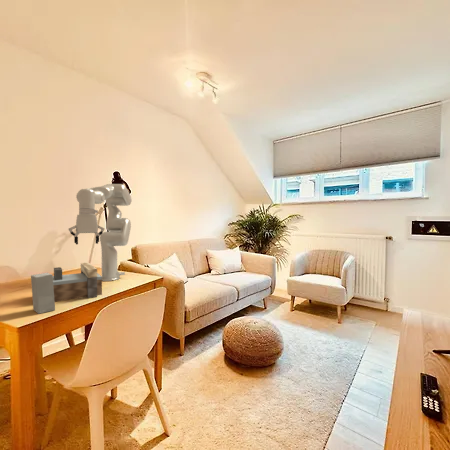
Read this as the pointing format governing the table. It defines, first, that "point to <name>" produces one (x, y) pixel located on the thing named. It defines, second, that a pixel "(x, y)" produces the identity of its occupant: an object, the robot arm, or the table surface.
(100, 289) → the brown wooden box
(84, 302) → the table surface
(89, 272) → the smooth beige tapered object
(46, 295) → the skincare box
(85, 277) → the lid
